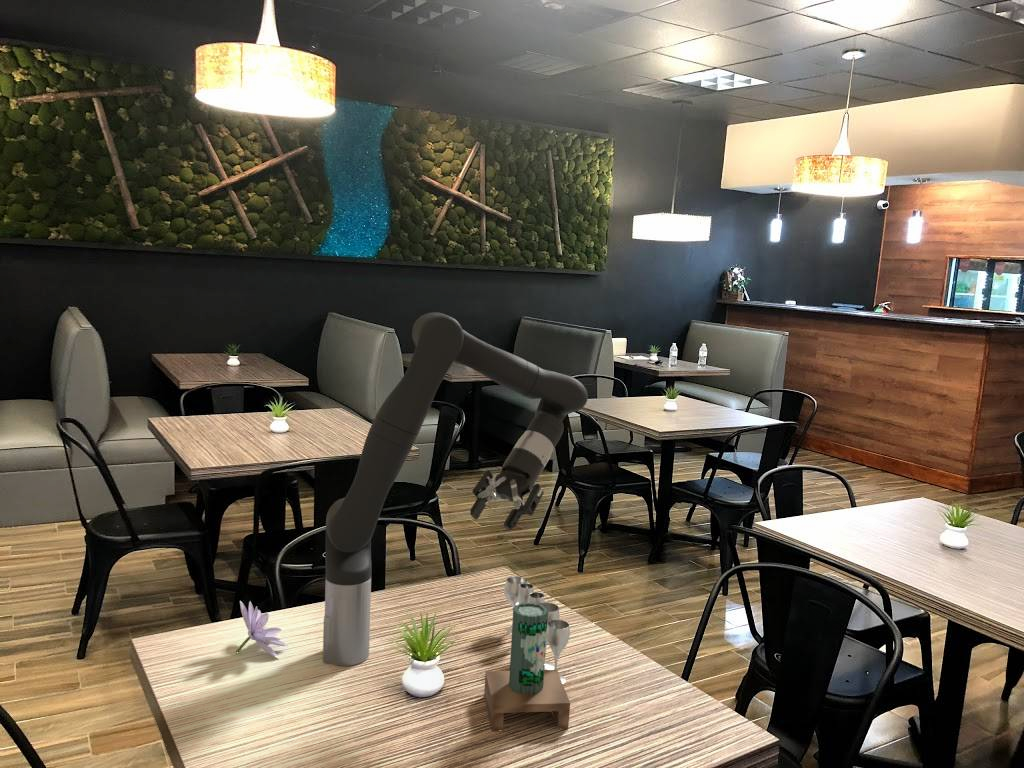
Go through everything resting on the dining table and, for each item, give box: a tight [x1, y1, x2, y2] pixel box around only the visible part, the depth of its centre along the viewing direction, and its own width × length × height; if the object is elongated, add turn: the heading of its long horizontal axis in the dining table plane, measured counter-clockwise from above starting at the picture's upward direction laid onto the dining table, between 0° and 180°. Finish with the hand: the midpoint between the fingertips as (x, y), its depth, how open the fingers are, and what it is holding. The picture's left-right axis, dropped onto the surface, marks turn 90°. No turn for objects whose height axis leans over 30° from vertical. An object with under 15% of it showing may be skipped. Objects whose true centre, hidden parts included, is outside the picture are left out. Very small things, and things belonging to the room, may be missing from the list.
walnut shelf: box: [483, 669, 571, 732], centre depth 150 cm, size 14×12×5 cm
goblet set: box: [503, 575, 571, 685], centre depth 172 cm, size 28×6×13 cm, turn 21°
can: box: [509, 603, 548, 695], centre depth 148 cm, size 6×6×15 cm
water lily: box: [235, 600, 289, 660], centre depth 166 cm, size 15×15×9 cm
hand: (489, 522), depth 158 cm, fingers open, 8 cm apart
